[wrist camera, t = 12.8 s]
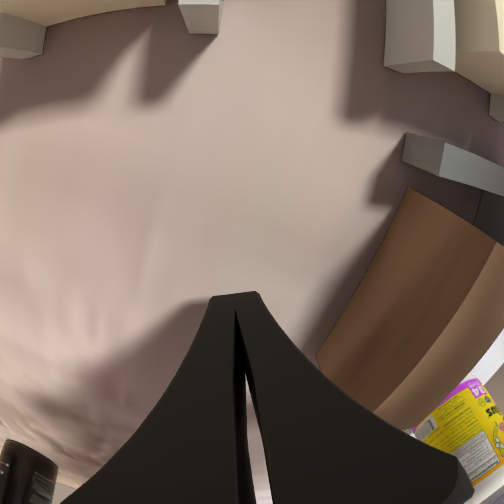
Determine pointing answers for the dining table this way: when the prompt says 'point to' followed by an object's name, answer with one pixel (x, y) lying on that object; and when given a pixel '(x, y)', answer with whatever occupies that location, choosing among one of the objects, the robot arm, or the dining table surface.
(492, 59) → the rack
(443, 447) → the supplement bottle
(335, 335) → the block
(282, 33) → the dining table surface
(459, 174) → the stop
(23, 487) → the supplement bottle
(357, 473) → the robot arm
